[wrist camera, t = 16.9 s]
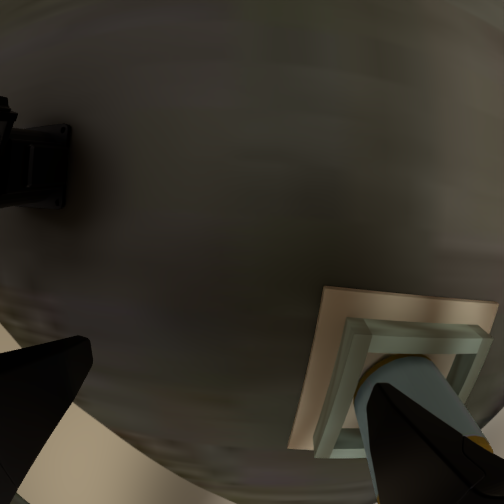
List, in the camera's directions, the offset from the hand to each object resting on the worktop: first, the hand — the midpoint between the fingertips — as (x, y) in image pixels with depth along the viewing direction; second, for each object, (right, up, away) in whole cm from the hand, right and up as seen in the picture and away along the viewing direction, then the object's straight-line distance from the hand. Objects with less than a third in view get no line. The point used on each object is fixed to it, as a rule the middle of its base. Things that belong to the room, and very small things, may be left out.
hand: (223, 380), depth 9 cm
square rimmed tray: (+12, -7, +13) cm, 19 cm away
